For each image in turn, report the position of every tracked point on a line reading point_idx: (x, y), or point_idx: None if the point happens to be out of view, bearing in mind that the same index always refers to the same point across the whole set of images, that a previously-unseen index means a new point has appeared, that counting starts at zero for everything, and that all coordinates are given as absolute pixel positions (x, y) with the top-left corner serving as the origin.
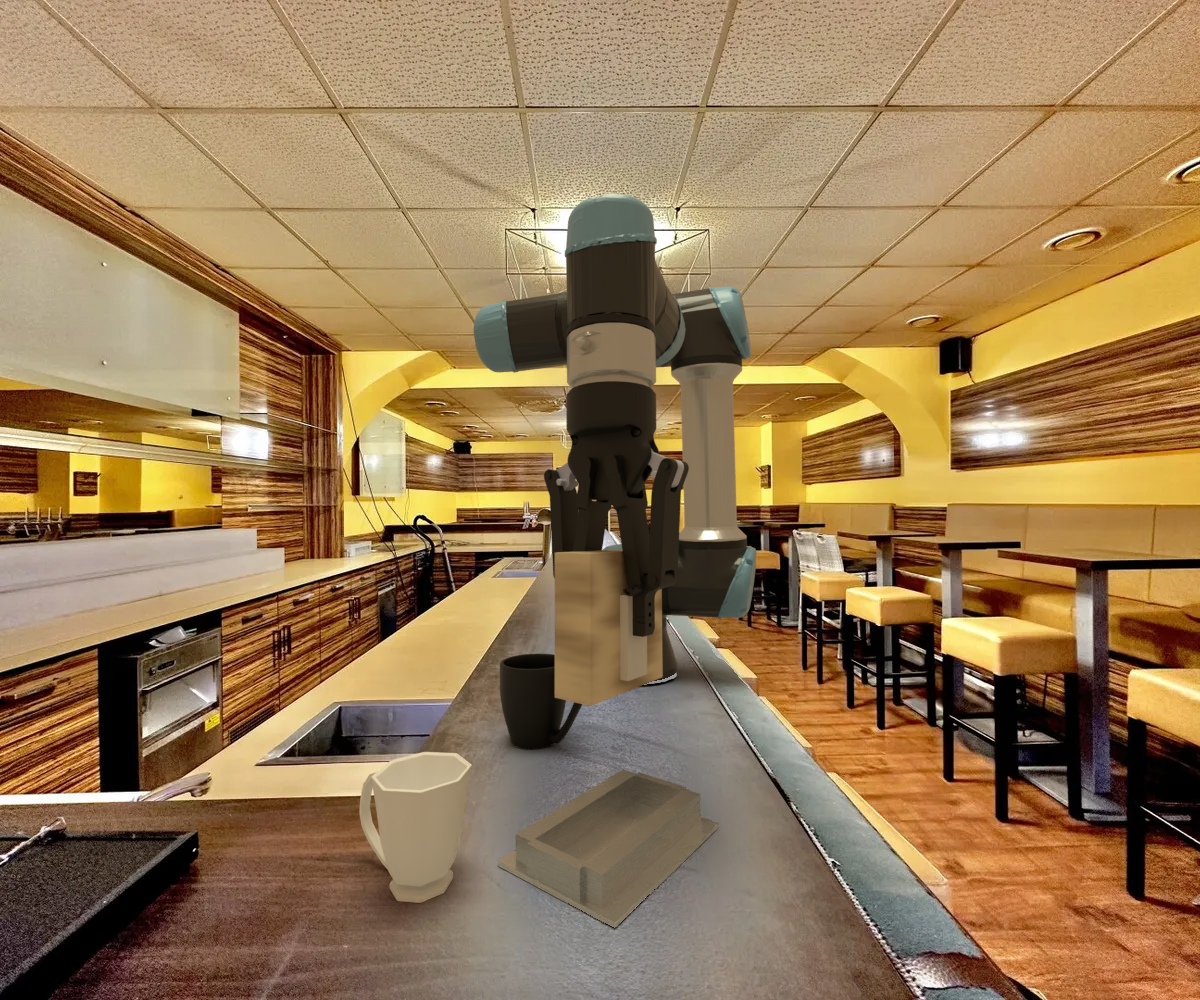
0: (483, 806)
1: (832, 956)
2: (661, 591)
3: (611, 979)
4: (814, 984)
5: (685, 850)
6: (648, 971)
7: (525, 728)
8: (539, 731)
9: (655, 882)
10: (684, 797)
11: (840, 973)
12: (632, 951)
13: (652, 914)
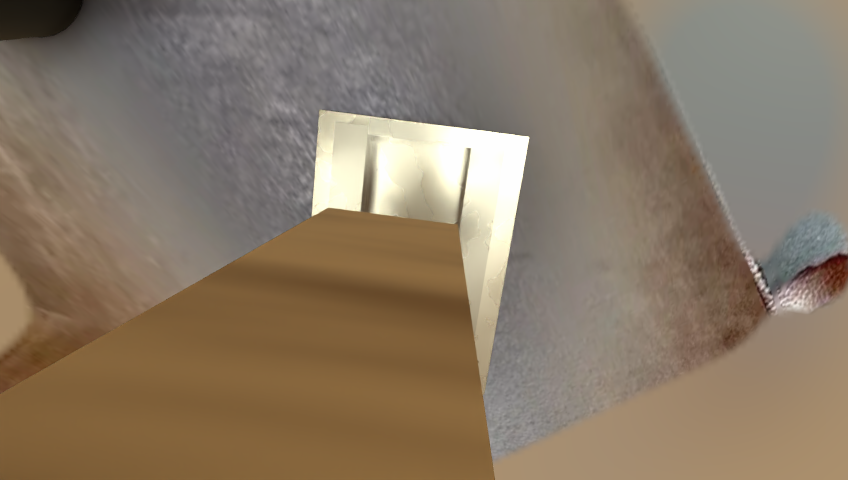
0: (173, 262)
1: (704, 323)
2: (476, 353)
3: (509, 442)
4: (687, 366)
5: (507, 235)
6: (536, 420)
7: (19, 34)
8: (49, 13)
9: (497, 316)
10: (484, 170)
11: (711, 341)
12: (512, 406)
13: (510, 353)
